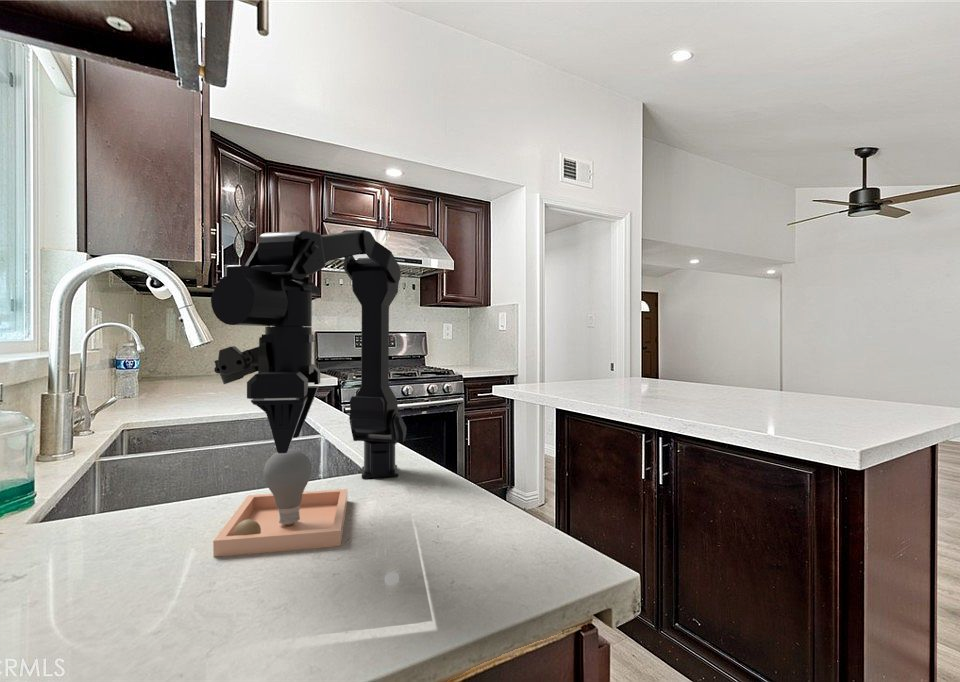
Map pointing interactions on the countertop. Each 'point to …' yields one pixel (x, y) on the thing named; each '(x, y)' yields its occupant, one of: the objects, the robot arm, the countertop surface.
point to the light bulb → (287, 482)
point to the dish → (313, 530)
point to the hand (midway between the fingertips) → (288, 444)
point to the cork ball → (247, 528)
